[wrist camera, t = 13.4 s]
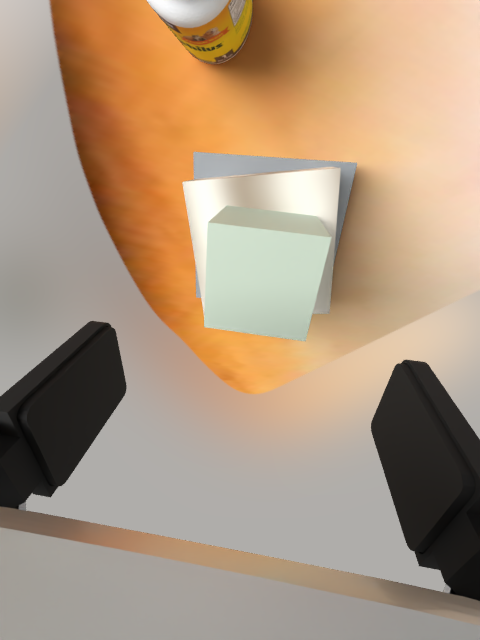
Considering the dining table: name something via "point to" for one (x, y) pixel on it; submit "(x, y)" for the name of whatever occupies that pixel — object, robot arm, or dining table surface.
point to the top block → (267, 194)
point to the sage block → (263, 271)
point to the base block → (243, 164)
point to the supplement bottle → (207, 25)
